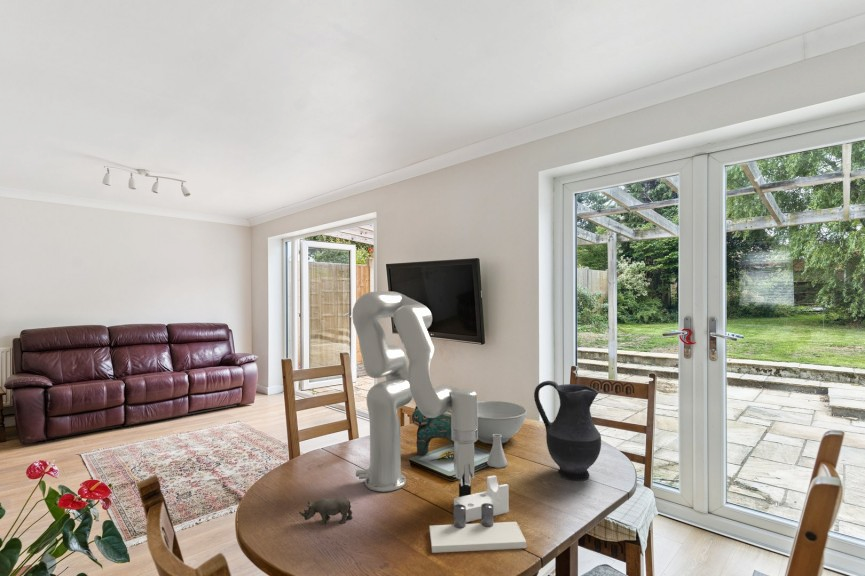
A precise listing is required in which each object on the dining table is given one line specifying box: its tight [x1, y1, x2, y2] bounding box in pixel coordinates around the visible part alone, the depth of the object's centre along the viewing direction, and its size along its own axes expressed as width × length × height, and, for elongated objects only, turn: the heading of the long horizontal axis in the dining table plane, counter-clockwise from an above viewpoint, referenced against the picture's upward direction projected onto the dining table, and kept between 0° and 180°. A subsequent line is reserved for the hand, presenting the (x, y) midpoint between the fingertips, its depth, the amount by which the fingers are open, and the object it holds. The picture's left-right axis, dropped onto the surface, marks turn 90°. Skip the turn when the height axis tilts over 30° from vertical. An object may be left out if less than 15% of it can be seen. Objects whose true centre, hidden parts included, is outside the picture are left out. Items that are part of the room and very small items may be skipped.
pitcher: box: [533, 380, 602, 481], centre depth 146 cm, size 17×21×30 cm
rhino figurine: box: [298, 497, 353, 526], centre depth 117 cm, size 4×14×6 cm, turn 95°
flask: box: [486, 434, 509, 468], centre depth 154 cm, size 7×7×10 cm
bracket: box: [453, 475, 510, 523], centre depth 122 cm, size 13×7×8 cm, turn 113°
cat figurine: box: [411, 405, 454, 456], centre depth 163 cm, size 20×6×20 cm, turn 72°
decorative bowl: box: [478, 400, 528, 445], centre depth 180 cm, size 27×27×12 cm
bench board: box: [429, 521, 527, 554], centre depth 108 cm, size 22×9×2 cm, turn 94°
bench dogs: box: [453, 503, 494, 528], centre depth 112 cm, size 10×3×6 cm, turn 94°
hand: (464, 498), depth 127 cm, fingers closed
